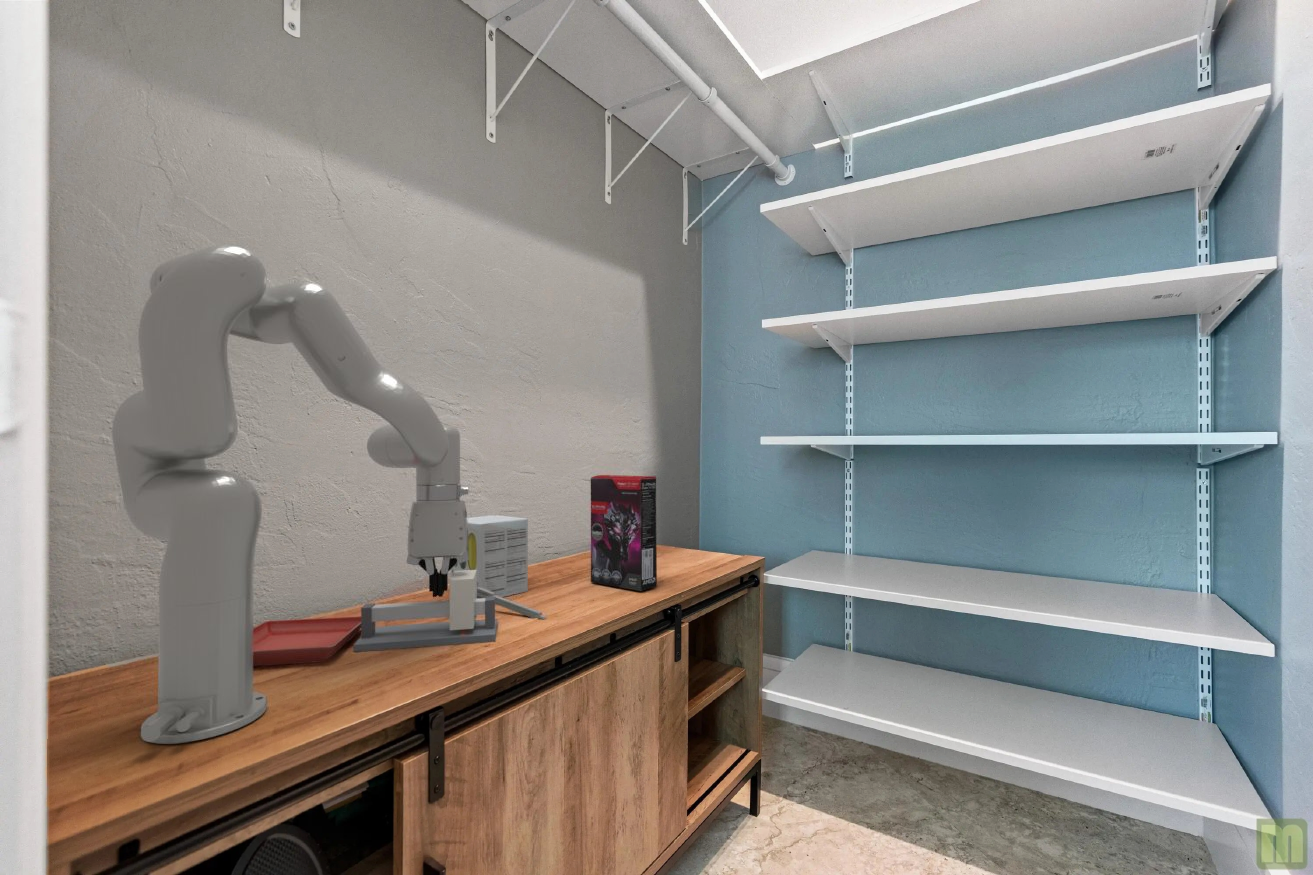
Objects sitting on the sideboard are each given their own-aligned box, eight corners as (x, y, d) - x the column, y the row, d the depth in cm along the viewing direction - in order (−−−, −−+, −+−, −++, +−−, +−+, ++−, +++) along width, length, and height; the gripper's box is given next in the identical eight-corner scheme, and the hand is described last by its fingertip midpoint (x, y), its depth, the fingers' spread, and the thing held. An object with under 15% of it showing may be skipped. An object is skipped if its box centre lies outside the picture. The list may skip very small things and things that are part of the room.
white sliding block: (473, 628, 104) (473, 578, 104) (449, 630, 103) (449, 580, 104) (476, 616, 112) (476, 569, 112) (454, 617, 111) (454, 570, 111)
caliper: (465, 609, 126) (465, 580, 126) (469, 608, 127) (468, 579, 127) (543, 620, 117) (543, 589, 117) (547, 619, 118) (546, 588, 118)
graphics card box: (588, 583, 148) (587, 475, 149) (606, 578, 154) (606, 474, 154) (641, 593, 138) (640, 477, 138) (659, 587, 143) (658, 475, 144)
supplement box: (448, 593, 139) (448, 519, 139) (496, 583, 149) (496, 514, 149) (481, 602, 130) (481, 523, 131) (529, 591, 140) (529, 518, 141)
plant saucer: (265, 637, 108) (265, 619, 108) (369, 632, 111) (369, 614, 111) (206, 675, 90) (207, 653, 90) (333, 667, 93) (333, 646, 93)
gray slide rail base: (495, 641, 104) (494, 604, 104) (353, 651, 99) (353, 613, 99) (497, 624, 114) (497, 591, 114) (368, 633, 109) (368, 598, 109)
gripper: (482, 491, 113) (482, 587, 112) (398, 493, 109) (398, 592, 109) (479, 494, 105) (479, 597, 105) (389, 496, 102) (389, 603, 102)
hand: (438, 594), depth 107 cm, fingers closed
